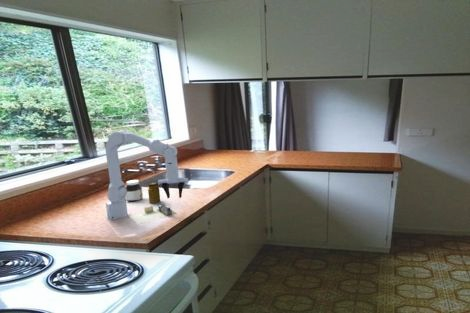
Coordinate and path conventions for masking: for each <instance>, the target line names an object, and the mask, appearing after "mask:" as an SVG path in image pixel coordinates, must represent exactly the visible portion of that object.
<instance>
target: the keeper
mask: <svg viewBox="0 0 470 313" xmlns="http://www.w3.org/2000/svg"><path fill="white" fill-rule="evenodd" d="M143 209H144V213H150V212H153V210H154V206H153V205H152V206H147V207H144V208H143Z"/></svg>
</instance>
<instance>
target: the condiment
mask: <svg viewBox="0 0 470 313" xmlns="http://www.w3.org/2000/svg"><path fill="white" fill-rule="evenodd" d="M147 185H148V188H147V191H148V192H147V193H148V194H147V195H148V201H149V202H148V203H149V204H151V205H155V204H160V203H161V193H160V188H159V184H158V182H156V181H155V182H149V183H148V184H147Z"/></svg>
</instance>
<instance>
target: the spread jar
mask: <svg viewBox="0 0 470 313" xmlns="http://www.w3.org/2000/svg"><path fill="white" fill-rule="evenodd" d="M125 187H126V189H127V194H126V195H125V198H126V202H127V203H128V202H129V203H134V202H139V201H141V200H142V199H143V186H142V185H141V184H140V182H139V179H132V180H128V181H126V186H125Z"/></svg>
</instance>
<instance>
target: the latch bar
mask: <svg viewBox="0 0 470 313" xmlns="http://www.w3.org/2000/svg"><path fill="white" fill-rule="evenodd" d="M157 206H158V207H157V209H159V211H161V212H163V213H164V214H166V215H167V217H169V216H168V215H171V216H173V215H172V211H173V210H172V209H171V207H170V206H169V207H168V206H167V205H165V204H164V203H163V204H159V205H157Z"/></svg>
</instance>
